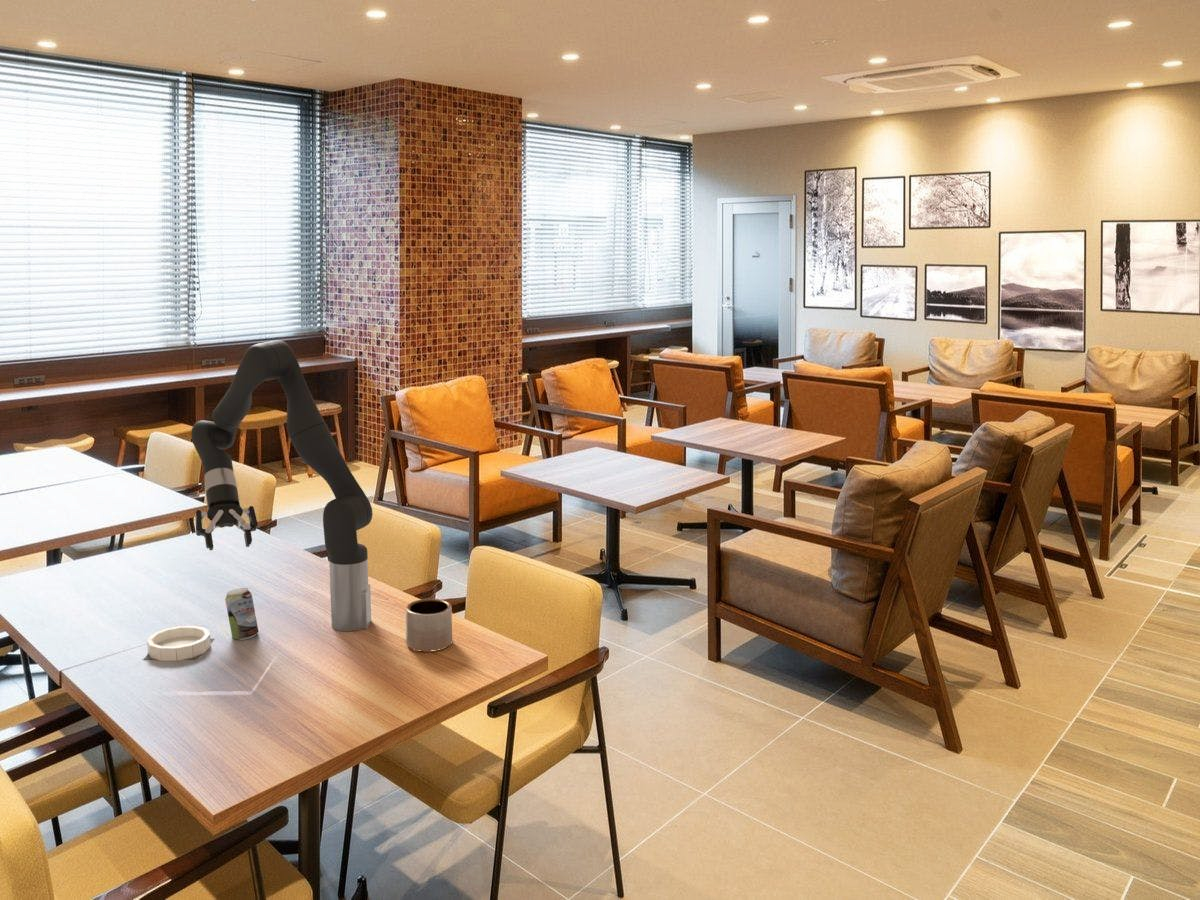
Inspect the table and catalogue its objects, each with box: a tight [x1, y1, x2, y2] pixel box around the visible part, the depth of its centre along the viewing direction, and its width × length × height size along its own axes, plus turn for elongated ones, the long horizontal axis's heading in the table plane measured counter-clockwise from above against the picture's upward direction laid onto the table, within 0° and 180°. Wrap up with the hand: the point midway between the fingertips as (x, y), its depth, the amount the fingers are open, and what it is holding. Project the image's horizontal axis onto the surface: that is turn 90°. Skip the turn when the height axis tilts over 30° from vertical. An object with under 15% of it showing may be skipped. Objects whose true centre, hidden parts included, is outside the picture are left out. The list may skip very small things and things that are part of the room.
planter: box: [405, 598, 453, 651], centre depth 228 cm, size 11×11×10 cm
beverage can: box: [224, 587, 259, 641], centre depth 229 cm, size 6×7×12 cm
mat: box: [142, 638, 215, 661], centre depth 222 cm, size 12×12×1 cm
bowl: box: [146, 625, 212, 662], centre depth 222 cm, size 13×13×3 cm
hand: (230, 547), depth 236 cm, fingers open, 8 cm apart
